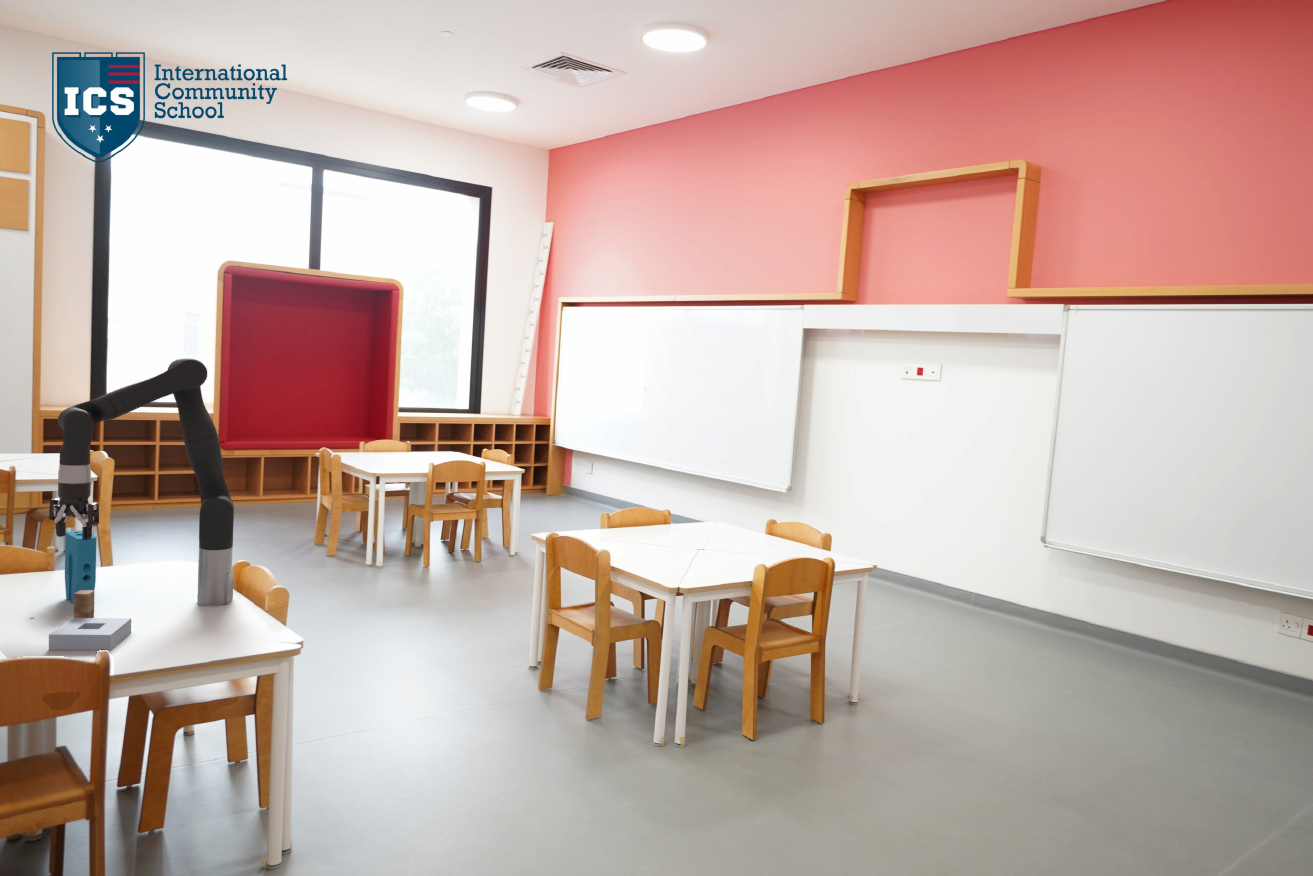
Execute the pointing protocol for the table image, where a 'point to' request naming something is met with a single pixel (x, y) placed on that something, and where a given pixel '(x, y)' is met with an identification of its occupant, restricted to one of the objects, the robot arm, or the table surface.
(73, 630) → the socket block
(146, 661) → the table surface
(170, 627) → the table surface
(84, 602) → the walnut peg
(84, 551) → the block
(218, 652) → the table surface
